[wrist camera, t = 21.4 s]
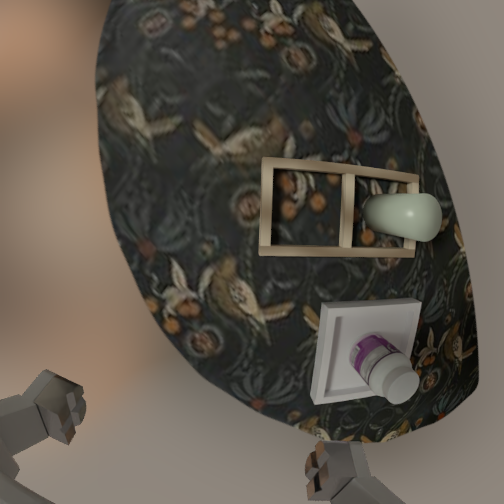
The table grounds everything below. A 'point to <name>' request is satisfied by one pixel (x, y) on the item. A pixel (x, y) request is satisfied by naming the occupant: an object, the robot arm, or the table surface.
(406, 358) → the pill bottle
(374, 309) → the grey tray
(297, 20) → the table surface
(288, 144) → the table surface
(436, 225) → the sage vial
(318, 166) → the light wood flat frame
